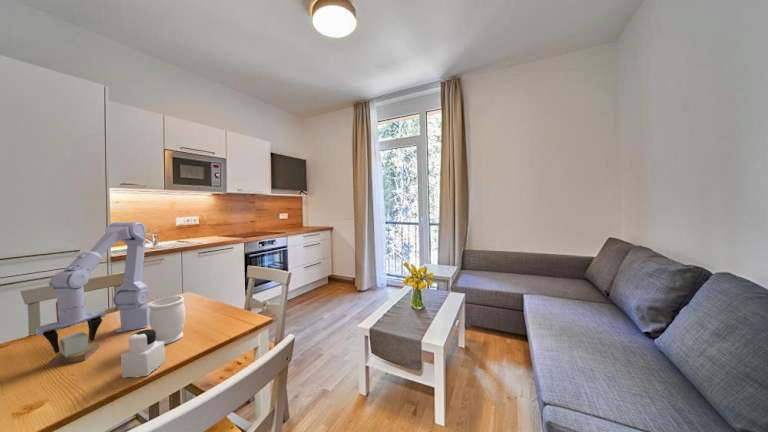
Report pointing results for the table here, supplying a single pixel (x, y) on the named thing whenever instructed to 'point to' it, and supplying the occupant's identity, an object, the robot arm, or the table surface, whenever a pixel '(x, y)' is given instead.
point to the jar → (167, 318)
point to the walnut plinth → (73, 356)
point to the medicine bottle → (142, 354)
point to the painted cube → (74, 344)
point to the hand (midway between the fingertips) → (75, 345)
